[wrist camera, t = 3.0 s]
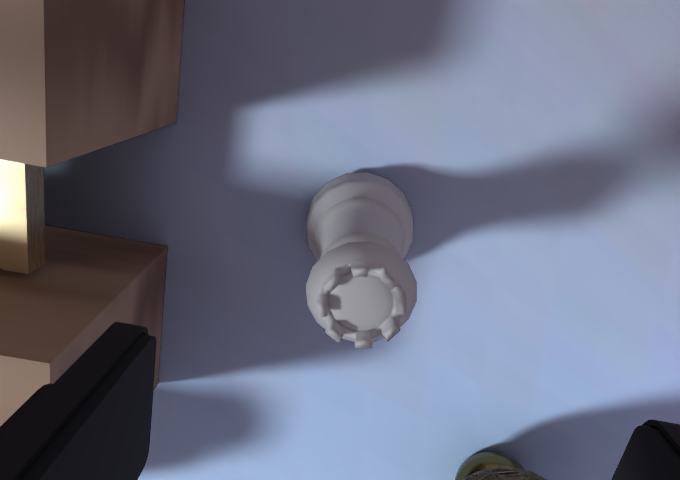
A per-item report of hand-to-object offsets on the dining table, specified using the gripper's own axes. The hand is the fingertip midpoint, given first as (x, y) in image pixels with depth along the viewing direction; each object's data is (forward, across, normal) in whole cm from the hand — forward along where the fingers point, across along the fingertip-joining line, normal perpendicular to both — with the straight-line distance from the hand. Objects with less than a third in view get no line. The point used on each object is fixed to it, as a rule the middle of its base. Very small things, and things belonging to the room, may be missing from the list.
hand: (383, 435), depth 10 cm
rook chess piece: (+13, +1, 0) cm, 13 cm away
